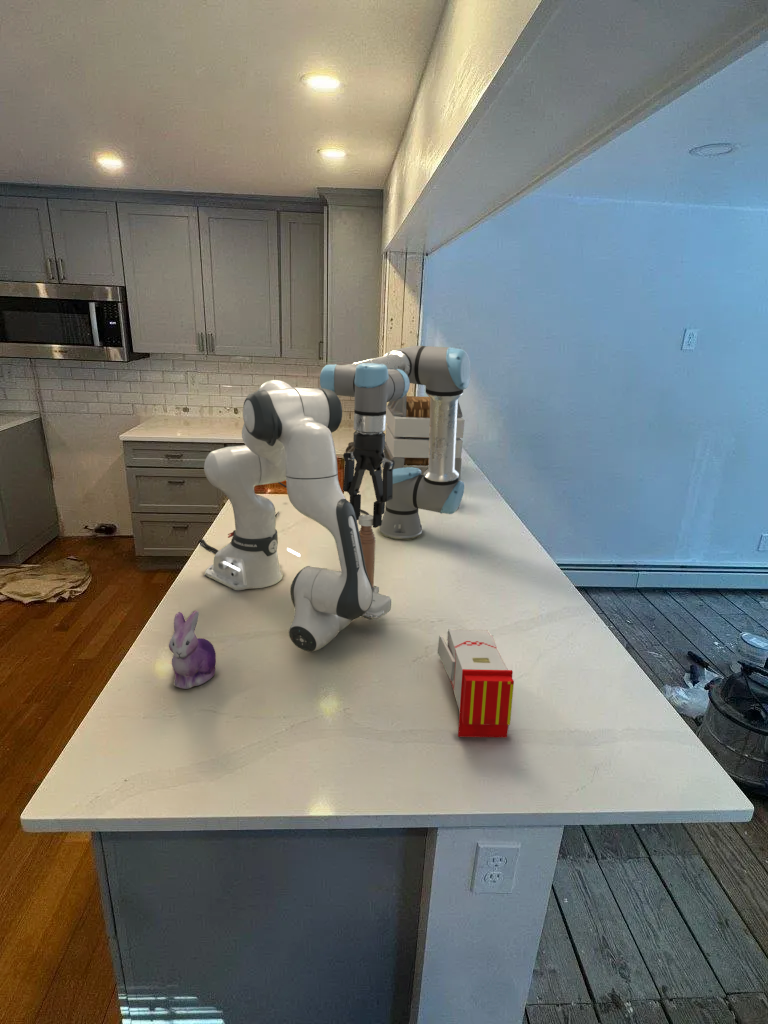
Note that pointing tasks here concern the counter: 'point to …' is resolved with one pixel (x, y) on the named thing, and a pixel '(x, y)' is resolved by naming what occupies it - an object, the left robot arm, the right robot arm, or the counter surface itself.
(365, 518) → the cap
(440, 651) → the toy
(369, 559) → the bottle
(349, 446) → the fossil
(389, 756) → the counter surface
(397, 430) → the grey slatted box
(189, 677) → the figurine
